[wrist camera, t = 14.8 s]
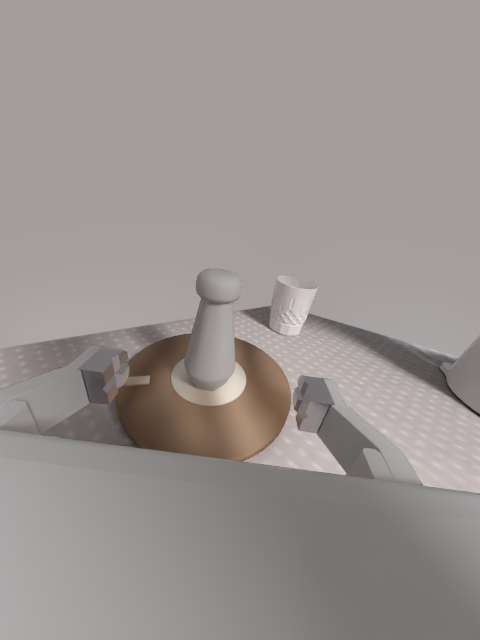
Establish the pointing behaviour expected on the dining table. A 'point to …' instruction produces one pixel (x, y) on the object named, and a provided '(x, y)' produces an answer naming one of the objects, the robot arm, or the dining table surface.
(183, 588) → the robot arm
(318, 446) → the dining table surface
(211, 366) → the salt shaker
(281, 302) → the white cup
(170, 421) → the turntable
